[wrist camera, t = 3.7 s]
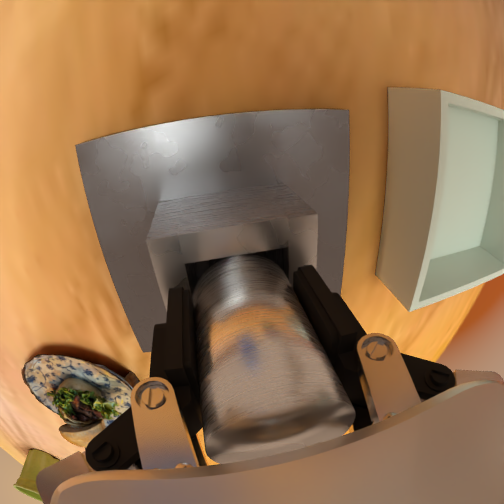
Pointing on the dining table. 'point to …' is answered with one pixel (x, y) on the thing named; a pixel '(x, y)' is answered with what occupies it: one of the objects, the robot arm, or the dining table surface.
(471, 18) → the dining table surface
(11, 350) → the dining table surface
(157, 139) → the stud block
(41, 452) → the plant pot
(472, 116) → the bin
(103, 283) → the dining table surface
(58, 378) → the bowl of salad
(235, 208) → the grey piece
